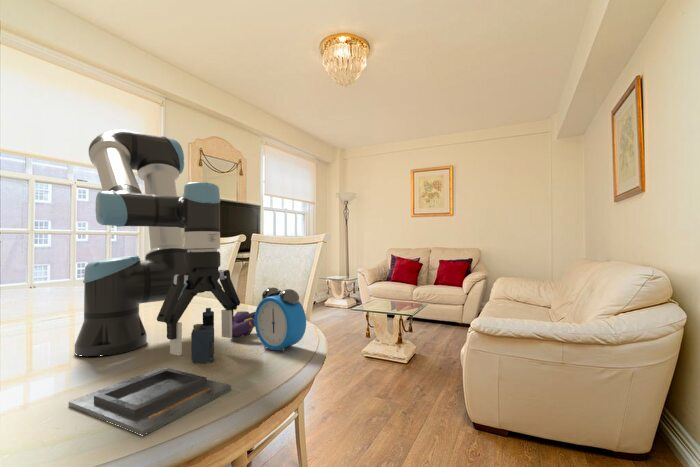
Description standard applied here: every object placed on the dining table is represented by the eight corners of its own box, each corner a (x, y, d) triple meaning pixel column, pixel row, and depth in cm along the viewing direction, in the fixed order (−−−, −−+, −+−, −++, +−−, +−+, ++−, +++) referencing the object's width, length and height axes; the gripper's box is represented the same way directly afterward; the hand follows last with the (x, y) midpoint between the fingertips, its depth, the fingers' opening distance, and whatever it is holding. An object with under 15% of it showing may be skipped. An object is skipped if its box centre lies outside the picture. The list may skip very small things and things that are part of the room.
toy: (264, 331, 101) (265, 309, 101) (252, 344, 89) (253, 320, 89) (228, 328, 101) (229, 306, 101) (211, 342, 90) (213, 317, 89)
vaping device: (209, 364, 73) (209, 309, 74) (188, 362, 75) (188, 308, 75) (216, 359, 76) (216, 307, 76) (196, 358, 77) (196, 306, 77)
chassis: (68, 406, 55) (68, 394, 55) (160, 371, 69) (160, 362, 70) (142, 436, 46) (142, 422, 46) (231, 389, 61) (231, 378, 61)
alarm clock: (253, 346, 85) (253, 287, 86) (272, 340, 91) (271, 285, 91) (290, 356, 78) (289, 292, 78) (307, 349, 83) (307, 288, 83)
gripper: (160, 252, 63) (161, 365, 62) (253, 249, 85) (255, 332, 85) (136, 252, 66) (137, 360, 66) (232, 249, 89) (233, 330, 88)
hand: (203, 345), depth 75 cm, fingers open, 13 cm apart
